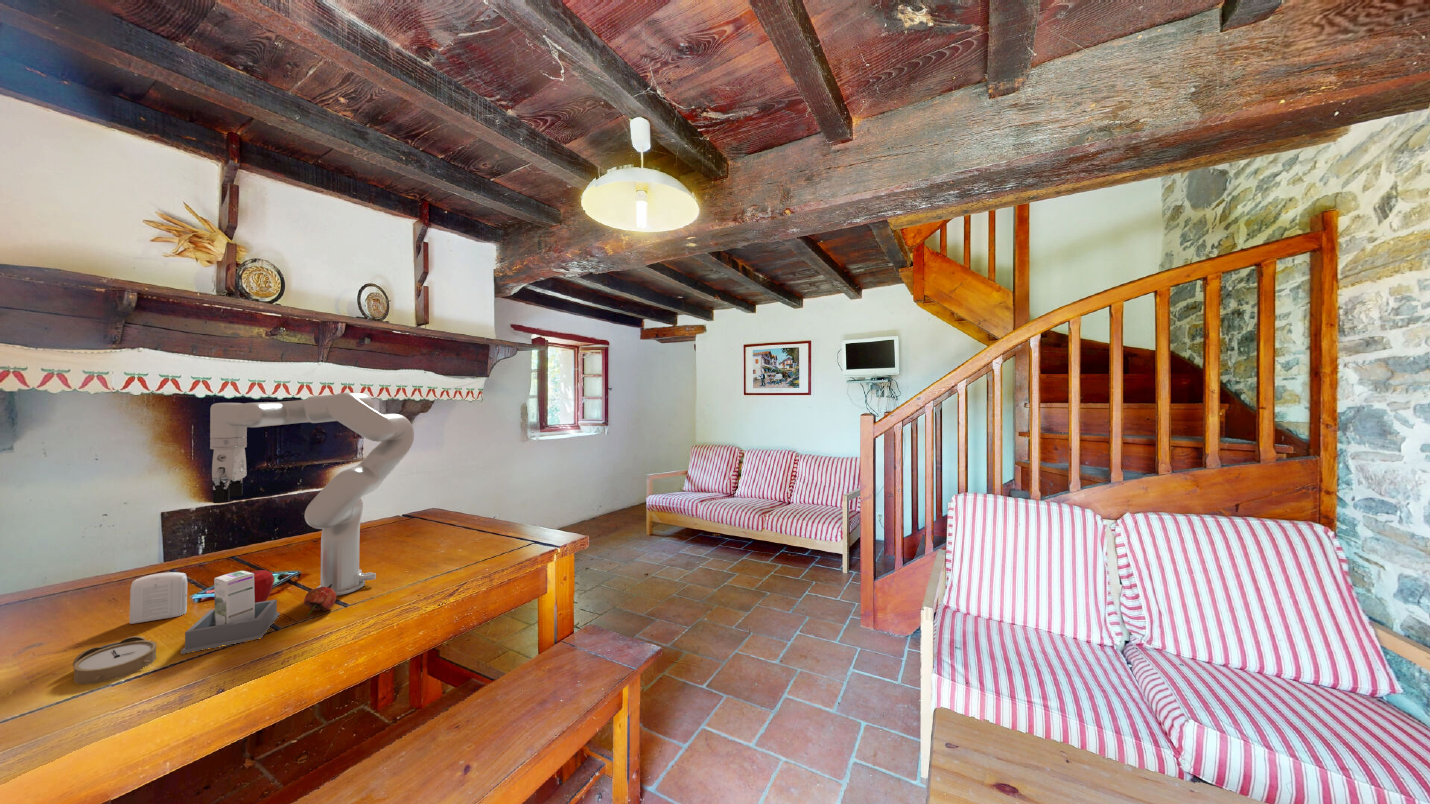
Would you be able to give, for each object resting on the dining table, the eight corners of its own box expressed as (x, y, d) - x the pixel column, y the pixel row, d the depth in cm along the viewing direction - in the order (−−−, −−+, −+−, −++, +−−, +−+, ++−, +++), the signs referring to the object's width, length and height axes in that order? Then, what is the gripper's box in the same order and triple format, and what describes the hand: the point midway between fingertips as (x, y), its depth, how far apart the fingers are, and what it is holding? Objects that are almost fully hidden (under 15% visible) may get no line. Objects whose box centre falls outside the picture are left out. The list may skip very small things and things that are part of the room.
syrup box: (256, 626, 118) (256, 572, 118) (225, 637, 113) (225, 580, 112) (243, 622, 120) (243, 569, 120) (212, 633, 114) (213, 577, 114)
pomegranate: (323, 624, 126) (351, 591, 134) (303, 611, 122) (333, 577, 129) (305, 623, 128) (333, 590, 136) (284, 610, 124) (315, 577, 132)
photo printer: (189, 610, 128) (190, 567, 128) (183, 616, 125) (183, 572, 125) (134, 619, 123) (134, 574, 122) (125, 626, 119) (126, 580, 119)
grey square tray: (279, 615, 126) (279, 598, 126) (261, 639, 114) (261, 620, 114) (208, 628, 119) (208, 609, 119) (180, 654, 107) (181, 634, 107)
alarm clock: (80, 678, 93) (65, 646, 100) (79, 700, 94) (64, 666, 101) (163, 652, 103) (145, 624, 110) (162, 671, 104) (144, 642, 111)
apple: (277, 596, 137) (278, 561, 137) (268, 609, 129) (269, 572, 129) (232, 604, 132) (232, 568, 132) (219, 618, 124) (220, 579, 124)
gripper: (234, 445, 130) (233, 504, 130) (256, 440, 145) (256, 492, 145) (197, 446, 126) (196, 506, 126) (223, 441, 141) (223, 494, 141)
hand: (228, 499), depth 136 cm, fingers open, 9 cm apart
